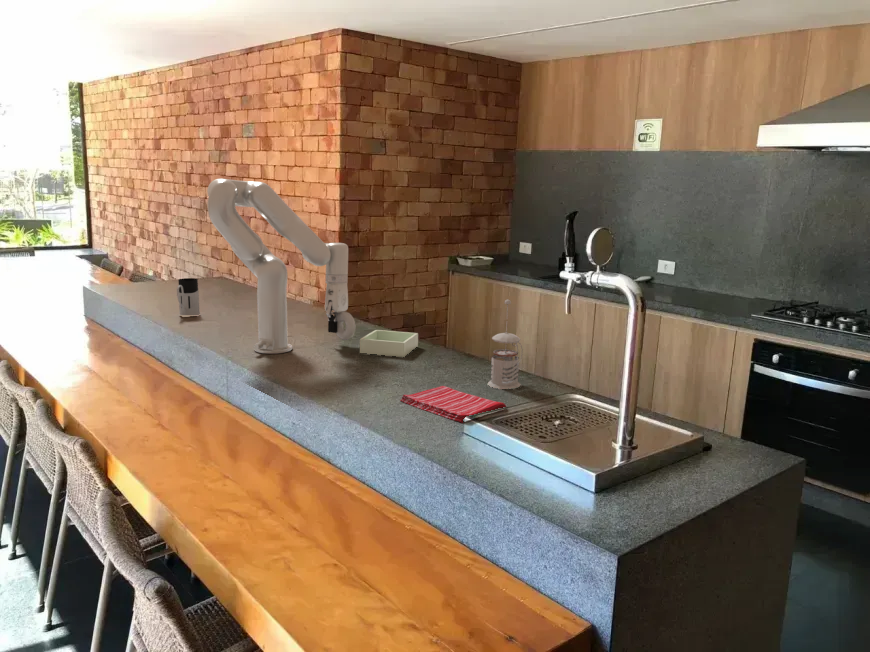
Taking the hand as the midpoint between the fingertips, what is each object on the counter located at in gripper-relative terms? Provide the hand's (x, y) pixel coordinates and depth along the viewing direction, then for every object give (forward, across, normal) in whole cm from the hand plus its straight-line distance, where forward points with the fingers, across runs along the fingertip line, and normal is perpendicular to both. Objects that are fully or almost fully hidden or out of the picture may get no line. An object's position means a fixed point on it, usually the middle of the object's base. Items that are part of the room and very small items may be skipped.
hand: (335, 330), depth 247 cm
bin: (+5, 0, -20) cm, 21 cm away
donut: (+3, -1, -4) cm, 5 cm away
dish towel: (+6, -52, -55) cm, 76 cm away
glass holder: (+7, +26, +77) cm, 81 cm away
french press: (+4, -27, -65) cm, 71 cm away
